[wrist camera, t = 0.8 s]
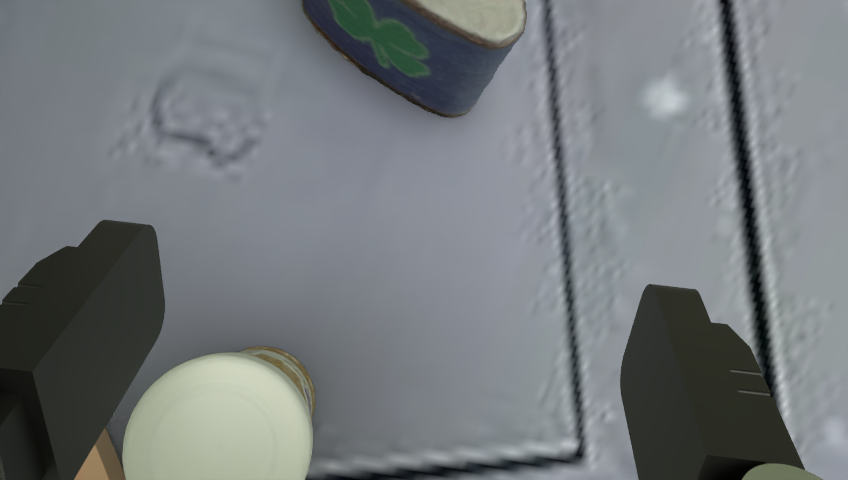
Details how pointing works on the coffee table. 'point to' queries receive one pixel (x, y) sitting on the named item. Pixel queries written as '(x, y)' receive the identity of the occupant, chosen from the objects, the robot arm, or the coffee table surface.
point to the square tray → (102, 462)
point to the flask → (423, 44)
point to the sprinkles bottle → (224, 420)
